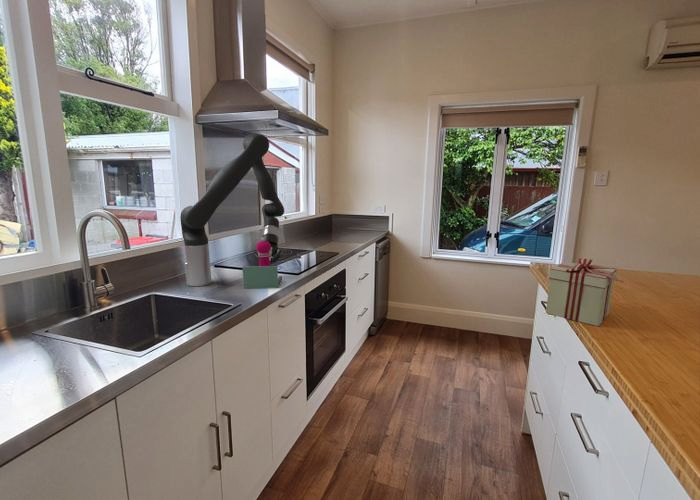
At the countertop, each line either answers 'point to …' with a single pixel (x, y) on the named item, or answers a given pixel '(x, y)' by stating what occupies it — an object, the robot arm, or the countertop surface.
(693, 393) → the countertop surface
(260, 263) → the pepper mill
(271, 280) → the green rectangular block
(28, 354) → the countertop surface
